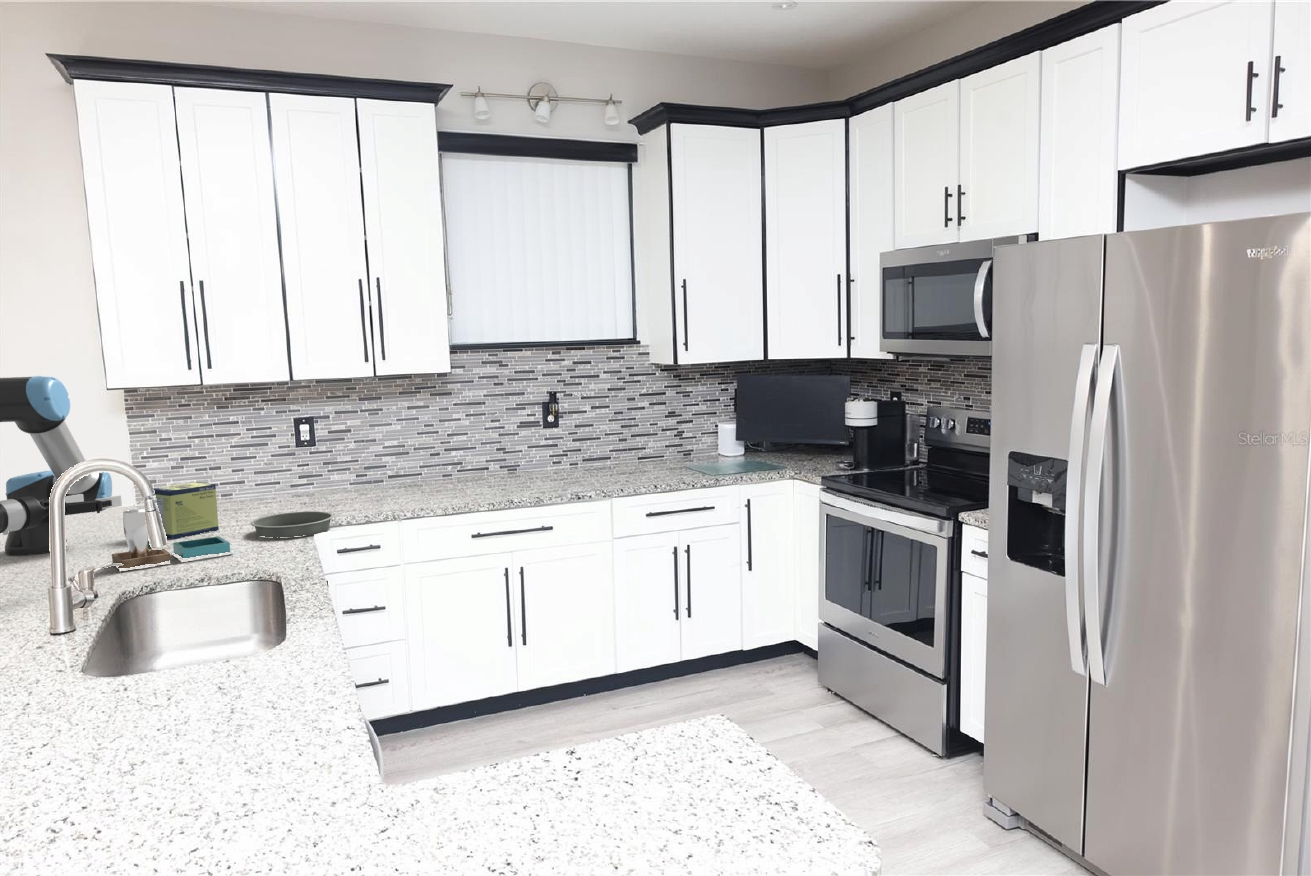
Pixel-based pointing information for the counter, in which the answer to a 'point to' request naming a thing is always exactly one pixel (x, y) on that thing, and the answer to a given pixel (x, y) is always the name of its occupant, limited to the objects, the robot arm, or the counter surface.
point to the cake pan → (292, 524)
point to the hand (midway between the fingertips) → (101, 499)
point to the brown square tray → (125, 558)
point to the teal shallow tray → (201, 547)
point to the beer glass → (136, 533)
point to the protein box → (188, 509)
